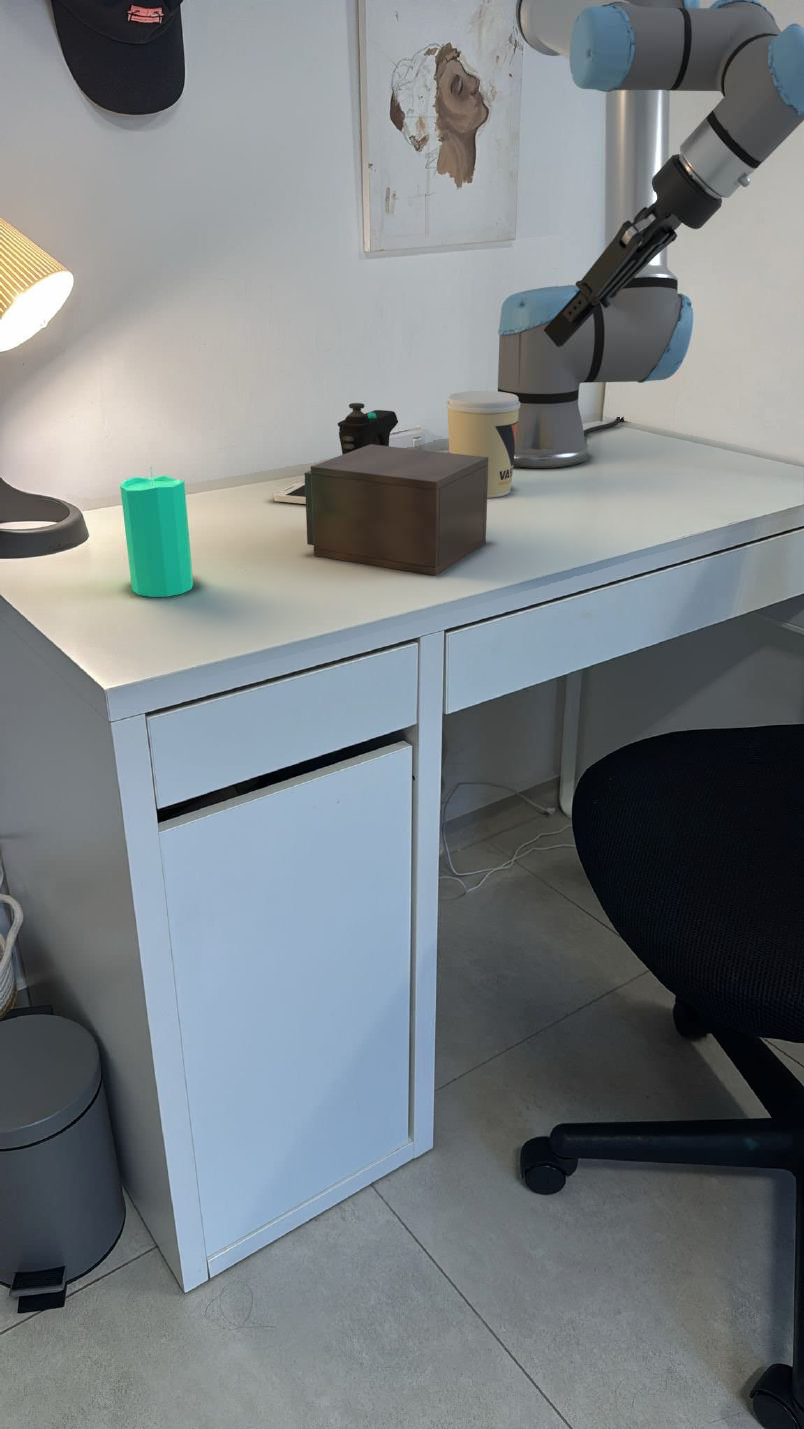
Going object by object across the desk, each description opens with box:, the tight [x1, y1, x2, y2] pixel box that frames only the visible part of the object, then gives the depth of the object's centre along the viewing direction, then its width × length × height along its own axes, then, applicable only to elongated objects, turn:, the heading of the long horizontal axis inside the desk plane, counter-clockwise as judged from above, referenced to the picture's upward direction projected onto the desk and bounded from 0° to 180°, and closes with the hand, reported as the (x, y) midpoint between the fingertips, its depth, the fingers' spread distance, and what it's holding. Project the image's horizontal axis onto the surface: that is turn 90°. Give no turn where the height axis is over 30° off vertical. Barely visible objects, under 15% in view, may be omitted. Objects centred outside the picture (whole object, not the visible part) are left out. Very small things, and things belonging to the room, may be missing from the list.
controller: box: [337, 402, 399, 455], centre depth 149 cm, size 4×12×10 cm, turn 155°
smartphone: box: [273, 481, 306, 505], centre depth 138 cm, size 7×15×1 cm, turn 69°
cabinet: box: [310, 444, 488, 576], centre depth 117 cm, size 15×13×10 cm
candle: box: [119, 465, 194, 598], centre depth 105 cm, size 6×6×12 cm
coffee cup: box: [446, 390, 520, 499], centre depth 140 cm, size 9×9×12 cm
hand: (553, 337), depth 131 cm, fingers closed
